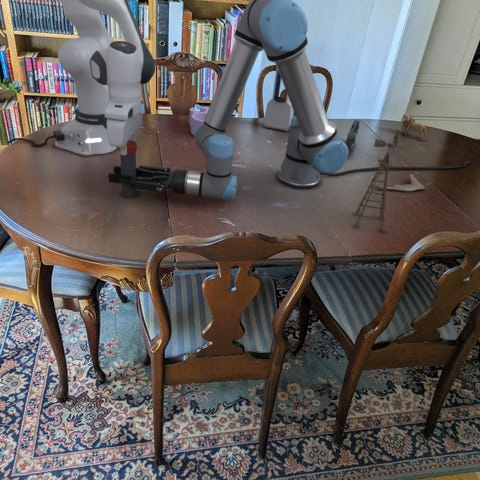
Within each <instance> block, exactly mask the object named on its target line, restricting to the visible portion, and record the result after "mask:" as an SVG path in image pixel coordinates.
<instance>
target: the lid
mask: <svg viewBox="0 0 480 480" xmlns="http://www.w3.org/2000/svg"><path fill="white" fill-rule="evenodd" d="M126 147H127V148H128V153H127V154H129V153H134V152H136V153H137V151H138V145H137V142H136V141H135V142H134V141H129V140H128V141H127V144H126ZM118 151H119V152H120V148H119V147H118Z"/></svg>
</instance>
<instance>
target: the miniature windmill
mask: <svg viewBox="0 0 480 480" xmlns="http://www.w3.org/2000/svg"><path fill="white" fill-rule="evenodd" d="M399 135H400V130H399V129H397V130H395V133H394V136H393V140H392V143H391V142H388V143H387V142H386V141H385V140H381V139H378V138H375V141H374V145H373V147H374V148H385V147H386V146H387V147H388V150H387V152H386V153H385V155H384V157H383V159H382V158H378V159H377V162H378V165H379V166H377V167H378V170H376V172H375V173H374V176H373V178H372V179H371V181H370V184H369V185H368V186H367V190H366V192H364V196H363V197H362V198H361V202H360V203H359V204H358V207H357V209H356V211H355V213H354V215H358V217H357V218H358V219H357V221H356V223H355V227H358V225H359V224H360V221H361V219H362V218H367V219H374V220H378V221H379V220H380V221H381V222H380V223H381V225H380V231H381V232H383V231H384V221H386V219H385V209H386V204H387V199H386V198H387V190H388V189H387V187H388V176H389V173H390V172H389V169H388V167H397V164H396V161H394V160H393V158H394V155H395V154H396V153H397V152H396V149H397V148H398V144H399V139H400V136H399ZM383 167H386V169H383ZM383 171H385V172H383ZM381 175H384V180H379V178H380V176H381ZM377 182H379V183H383V186H384V187H380V186H381V185H380V186H378V185H376V184H377ZM375 188H377V189H379V188H383V189H382V193H380V192H374V190H375ZM372 194H373V195H380V196H381V200H376V199H375V200H374V199H370V198H371V196H372ZM367 195H368V196H367ZM364 201H365V203H364ZM369 202H373V203H379V204H380V207H379V206H373V205H368V203H369ZM361 207H362V210H361ZM366 208H372V209H378V210H380V211H379V217H374V216H369V215H363V214H364V213H365V210H366Z"/></svg>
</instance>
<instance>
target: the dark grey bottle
mask: <svg viewBox="0 0 480 480" xmlns="http://www.w3.org/2000/svg"><path fill="white" fill-rule="evenodd" d="M119 155H120V157H119V159H120V167H121V175H132V177H136V168H137V151H136V152H134V153H129V154H126V155H121V154H120V153H119ZM121 195H122V196H123V197H124V198H134V197H136V196H137V195H138V190H135V189H130V185H129V184H121Z"/></svg>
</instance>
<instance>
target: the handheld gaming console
mask: <svg viewBox="0 0 480 480" xmlns="http://www.w3.org/2000/svg"><path fill="white" fill-rule="evenodd" d="M360 123H361V122H360V120H358V119H354V120H353V122H352V124H351V127H350V129H349V131H348V133H347V135H346V136H347V137H346V141H345V144H346V146H347V148H348V158H347V160H348V159H349V158H350V156H351V153H352V151H353V148H354V145H355V144H356V141H357V136H358V133H359V129H360Z"/></svg>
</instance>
